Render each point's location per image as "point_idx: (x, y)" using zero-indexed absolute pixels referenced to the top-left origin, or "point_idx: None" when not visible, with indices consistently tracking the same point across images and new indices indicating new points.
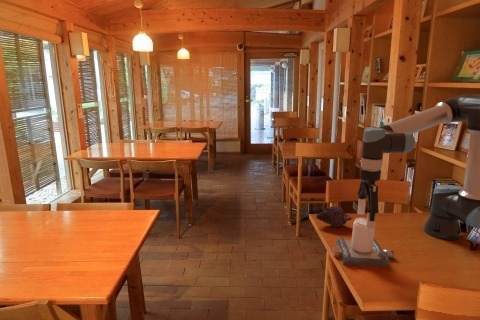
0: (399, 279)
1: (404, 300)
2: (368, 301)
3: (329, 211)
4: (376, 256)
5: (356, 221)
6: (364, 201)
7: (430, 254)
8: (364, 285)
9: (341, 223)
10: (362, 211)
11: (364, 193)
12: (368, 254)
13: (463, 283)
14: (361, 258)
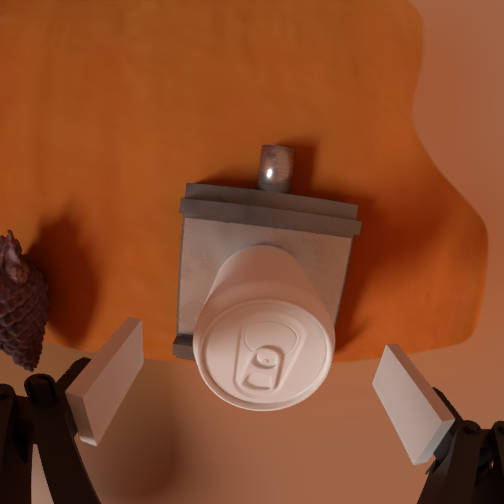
0: (417, 204)
1: (486, 244)
2: (471, 333)
3: (11, 343)
4: (330, 249)
5: (271, 410)
6: (93, 394)
7: (247, 3)
8: (427, 325)
9: (39, 282)
10: (134, 347)
11: (98, 501)
12: (312, 277)
13: (418, 28)
14: (337, 314)
